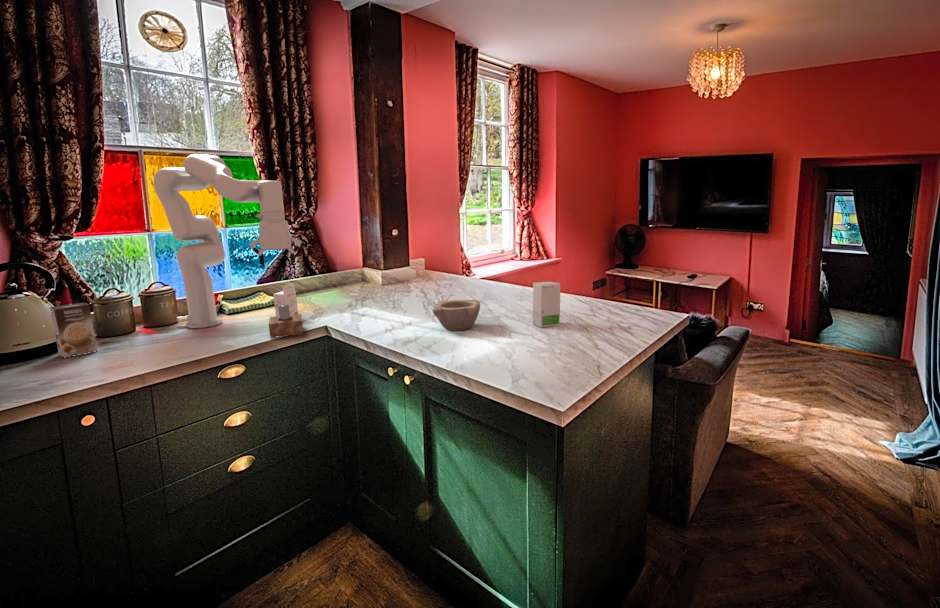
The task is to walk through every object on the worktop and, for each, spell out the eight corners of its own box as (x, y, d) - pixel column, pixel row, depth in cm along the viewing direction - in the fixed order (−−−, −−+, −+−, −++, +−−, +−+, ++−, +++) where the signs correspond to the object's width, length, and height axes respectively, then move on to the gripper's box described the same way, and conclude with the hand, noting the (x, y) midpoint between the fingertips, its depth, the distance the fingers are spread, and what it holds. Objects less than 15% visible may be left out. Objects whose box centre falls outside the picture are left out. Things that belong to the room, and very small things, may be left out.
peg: (281, 334, 178) (278, 307, 176) (281, 331, 181) (278, 305, 179) (291, 332, 179) (288, 306, 177) (291, 330, 183) (288, 304, 180)
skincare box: (540, 328, 177) (540, 285, 173) (531, 324, 183) (531, 282, 179) (560, 325, 180) (561, 283, 176) (551, 321, 186) (551, 280, 182)
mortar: (439, 321, 190) (438, 298, 188) (483, 321, 188) (482, 298, 186) (430, 334, 174) (429, 308, 172) (478, 334, 171) (477, 308, 169)
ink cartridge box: (287, 317, 203) (284, 282, 199) (298, 318, 202) (295, 282, 198) (275, 323, 194) (271, 286, 191) (287, 323, 193) (283, 286, 190)
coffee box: (63, 359, 156) (53, 309, 152) (58, 355, 160) (48, 307, 156) (98, 351, 163) (89, 304, 159) (93, 348, 167) (83, 301, 163)
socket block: (270, 337, 174) (268, 324, 173) (271, 330, 184) (270, 317, 183) (303, 334, 177) (301, 320, 176) (302, 326, 187) (301, 314, 186)
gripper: (245, 218, 166) (250, 268, 170) (299, 216, 171) (303, 265, 175) (247, 217, 173) (252, 265, 177) (299, 215, 178) (303, 262, 182)
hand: (278, 265), depth 176 cm, fingers open, 9 cm apart
